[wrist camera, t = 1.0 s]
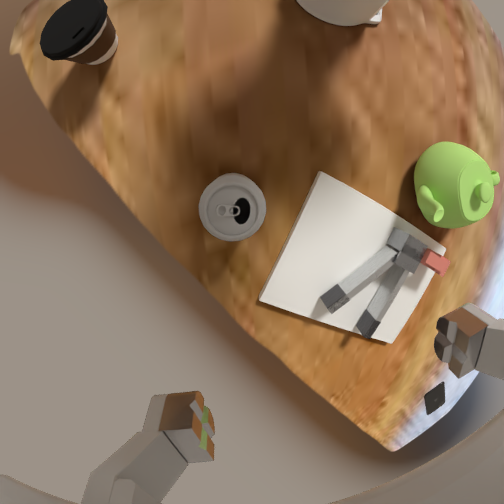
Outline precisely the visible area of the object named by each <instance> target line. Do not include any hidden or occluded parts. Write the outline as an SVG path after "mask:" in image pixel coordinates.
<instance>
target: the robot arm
mask: <svg viewBox="0 0 504 504" xmlns="http://www.w3.org/2000/svg"><path fill="white" fill-rule="evenodd" d="M296 1H297V2H298V3H299V4H300V5H301V6H302V7H303V8H304V9H305V10H306V11H307V12H309V13H310V14H312V15H313V16H315V17H317V18H319V19H321V20H323V21H325V22H328V23H331V24H335V25H341V26H354V25H358V24H362V23H369V24H379V23H380V21H381V18H382V7H383V6H384V5H385V4H386V3H387V2H388V1H389V0H296ZM436 329H437V330H438V334H437V335H436V337H435V341H434V349H435V353H436V355H437V357H438V358H439V359H440V360H441V361H442V362H446V363H448V366H449V369H450V370H451V371H452V372H453V373H454V374H455V375H456V377H457V378H458V379H459V378H461V377H462V376H464V375H466V374H467V373H469V372H471V371H472V370H474V369H475V370H477V371H480V372H482V373H485V374H488V375H491V376H493V377H497V378H499V379H502V380H504V319H498V320H497V319H495V318H494V317H492V316H491V315H489V314H488V313H486V312H485V311H483V310H482V309H480V308H479V307H477V306H476V305H474V304H473V303H466V304H465V305H463V306H461V307H459V308H458V309H456V310H454V311H452V312H450V313H448V314H446V315H444V316H442V317H440V318H439V319H438V321H437V326H436ZM214 430H215V429H214V421H213V417H212V414H211V412H210V410H209V408H208V407H206V406H204V398H203V396H202V394H201V392H199V391H192V392H183V393H172V394H164V395H154V396H153V397H152V398H151V402H150V405H149V408H148V412H147V415H146V419H145V423H144V426H143V430H142V432H137V433H136V434H135V435H134V436H133V437H132V438H131V439H130V440H129V441H127V442H126V443H125V444H124V445H123V446H122V447H121V448H120V449H118V450H117V451H116V452H115V453H114V454H113V455H111V456H110V457H109V458H108V459H107V460H106V461H104V462H103V463H102V464H101V465H100V466H98V467H97V468H96V469H95V470H94V471H92V472H91V474H90V477H89V480H88V483H87V486H86V489H85V492H84V495H83V498H82V502H81V504H161V503H160V502H161V501H162V500H163V498H164V497H165V496H166V494H167V493H168V492H169V491H170V489H171V488H172V486H173V485H174V484H175V482H176V481H177V480H178V478H179V477H180V475H181V474H182V473H183V471H184V470H185V469H186V467H187V466H188V463H196V462H207V461H214V444H213V442H212V440H211V438H212V436H213V435H214V433H215V432H214ZM0 504H77V503H74V502H71V501H68V500H64V499H62V498H59V497H56V496H53V495H51V494H48V493H45V492H43V491H40V490H37V489H35V488H33V487H31V486H28V485H26V484H23V483H22V482H20V481H18V480H16V479H14V478H12V477H9V476H7V475H0ZM329 504H504V409H503V410H502V411H500V412H499V413H498V414H497V415H496V416H495V417H493V418H492V419H491V420H490V421H488V422H487V423H486V424H485V425H484V426H482V427H481V428H479V429H478V430H477V431H476V432H474V433H473V434H471V435H470V436H469V437H467V438H466V439H464V440H463V441H461V442H460V443H458V444H457V445H456V446H454V447H452V448H451V449H449V450H448V451H446V452H445V453H443V454H441V455H440V456H438V457H436V458H435V459H433V460H431V461H429V462H427V463H426V464H424V465H422V466H420V467H418V468H416V469H414V470H413V471H411V472H409V473H407V474H405V475H403V476H401V477H398V478H396V479H394V480H392V481H389V482H387V483H385V484H383V485H380V486H378V487H375V488H373V489H370V490H368V491H365V492H363V493H360V494H357V495H354V496H351V497H348V498H345V499H342V500H339V501H336V502H332V503H329Z"/></svg>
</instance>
